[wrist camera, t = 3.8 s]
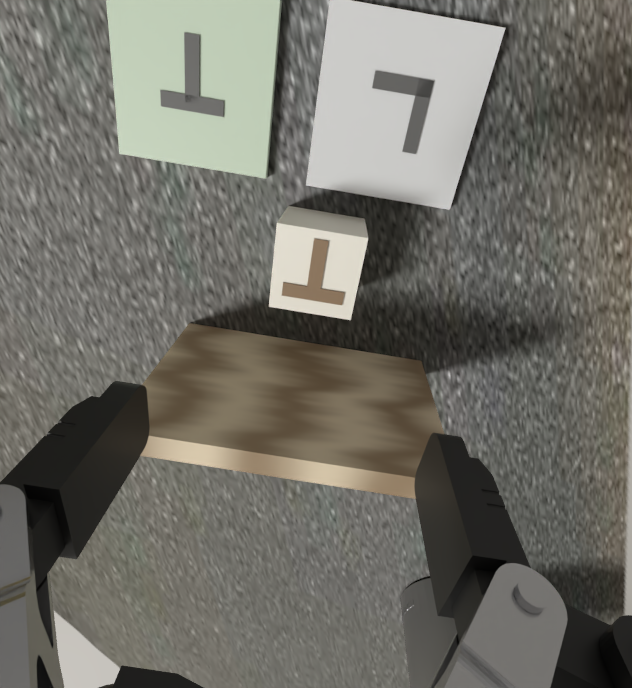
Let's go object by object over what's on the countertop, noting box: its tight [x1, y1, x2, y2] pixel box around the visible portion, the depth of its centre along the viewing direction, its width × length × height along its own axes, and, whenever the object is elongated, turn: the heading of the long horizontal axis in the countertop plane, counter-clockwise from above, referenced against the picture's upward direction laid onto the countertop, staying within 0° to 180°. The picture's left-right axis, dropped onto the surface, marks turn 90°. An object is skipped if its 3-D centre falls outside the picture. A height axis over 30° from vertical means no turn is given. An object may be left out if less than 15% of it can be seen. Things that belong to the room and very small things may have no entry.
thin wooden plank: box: [140, 323, 444, 499], centre depth 26 cm, size 18×2×12 cm, turn 81°
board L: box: [306, 0, 505, 210], centre depth 23 cm, size 9×9×1 cm
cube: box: [269, 206, 368, 320], centre depth 25 cm, size 5×5×5 cm
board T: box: [106, 0, 282, 178], centre depth 22 cm, size 9×9×1 cm
